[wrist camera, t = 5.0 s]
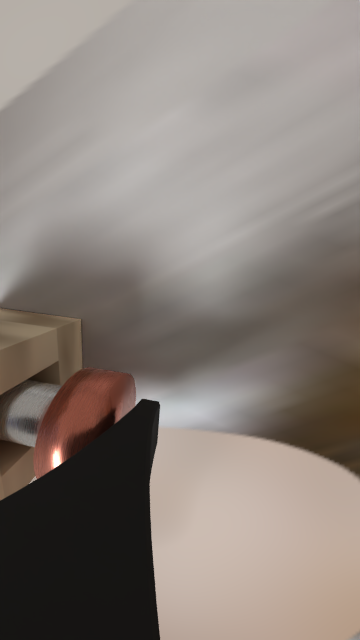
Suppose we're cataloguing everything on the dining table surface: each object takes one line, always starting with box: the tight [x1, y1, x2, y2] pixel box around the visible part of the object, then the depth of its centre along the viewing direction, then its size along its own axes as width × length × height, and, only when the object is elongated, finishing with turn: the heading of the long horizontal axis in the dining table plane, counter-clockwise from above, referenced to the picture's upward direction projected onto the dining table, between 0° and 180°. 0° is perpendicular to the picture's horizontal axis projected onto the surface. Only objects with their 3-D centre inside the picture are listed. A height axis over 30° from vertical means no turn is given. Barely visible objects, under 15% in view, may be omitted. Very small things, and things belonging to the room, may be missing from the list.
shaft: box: [0, 367, 136, 479], centre depth 8 cm, size 8×4×4 cm, turn 85°
